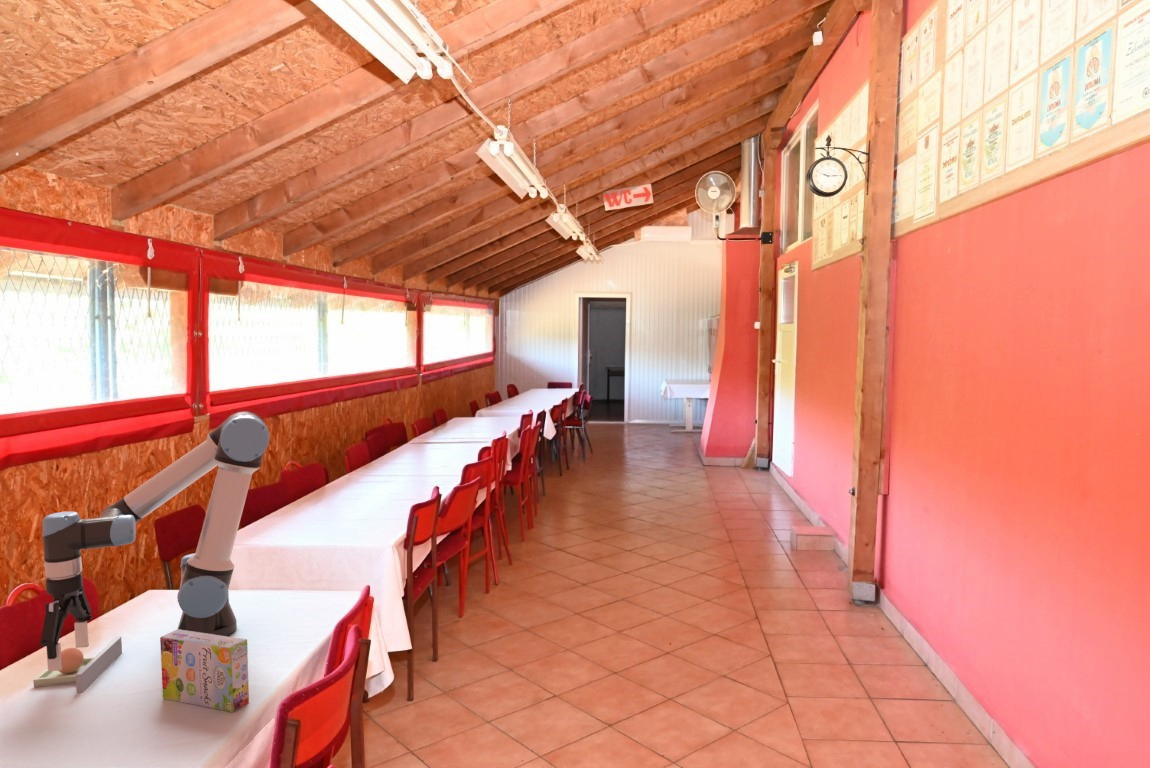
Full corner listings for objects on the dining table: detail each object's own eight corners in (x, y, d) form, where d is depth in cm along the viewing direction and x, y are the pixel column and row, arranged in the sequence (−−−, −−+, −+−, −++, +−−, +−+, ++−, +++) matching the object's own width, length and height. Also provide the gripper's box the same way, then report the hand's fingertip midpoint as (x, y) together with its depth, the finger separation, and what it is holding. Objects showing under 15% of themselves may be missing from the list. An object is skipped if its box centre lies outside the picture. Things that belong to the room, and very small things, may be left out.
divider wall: (122, 653, 196) (121, 636, 196) (82, 692, 175) (81, 674, 175) (117, 653, 196) (116, 637, 196) (76, 693, 175) (75, 674, 174)
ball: (88, 665, 188) (87, 643, 187) (77, 676, 182) (75, 652, 181) (62, 668, 187) (61, 645, 186) (50, 678, 181) (48, 655, 180)
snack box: (251, 701, 170) (248, 638, 168) (232, 713, 164) (229, 648, 163) (180, 688, 176) (177, 627, 175) (160, 699, 171) (157, 636, 170)
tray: (104, 662, 191) (103, 656, 191) (83, 682, 180) (83, 675, 180) (57, 666, 189) (56, 660, 189) (33, 687, 178) (33, 679, 178)
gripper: (72, 560, 194) (77, 639, 196) (18, 593, 170) (24, 682, 171) (103, 559, 196) (107, 636, 197) (54, 591, 171) (60, 679, 172)
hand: (69, 658), depth 184 cm, fingers open, 13 cm apart
